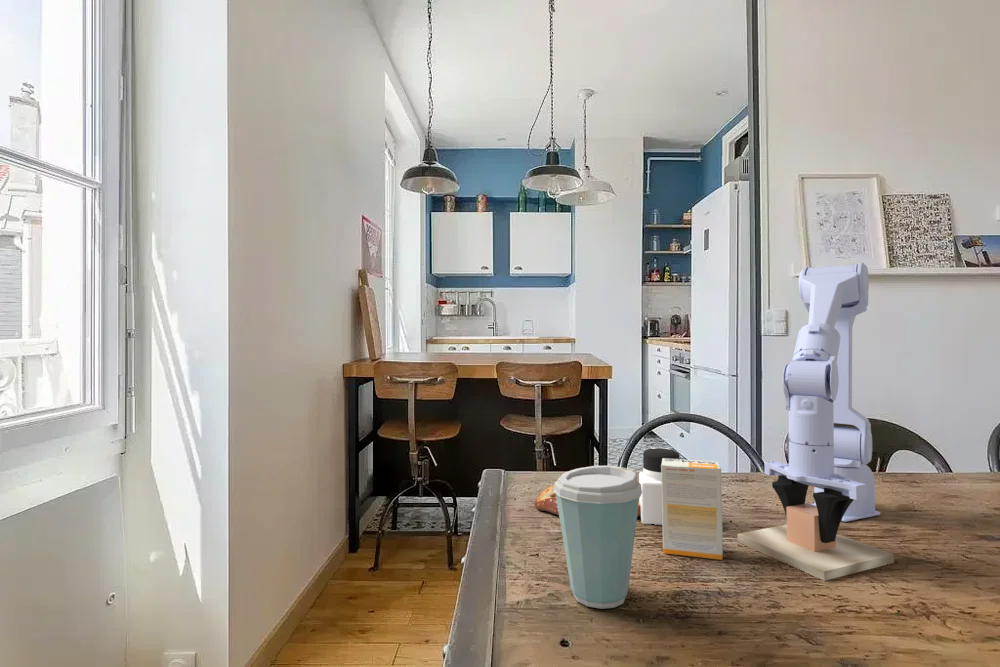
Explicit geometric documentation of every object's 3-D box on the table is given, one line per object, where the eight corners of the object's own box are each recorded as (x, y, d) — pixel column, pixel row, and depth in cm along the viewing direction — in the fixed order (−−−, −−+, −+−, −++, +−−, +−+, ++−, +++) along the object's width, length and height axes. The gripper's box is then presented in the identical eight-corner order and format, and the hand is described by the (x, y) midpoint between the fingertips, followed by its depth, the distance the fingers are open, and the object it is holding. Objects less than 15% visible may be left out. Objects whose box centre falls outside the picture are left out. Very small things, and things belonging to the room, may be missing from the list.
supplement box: (720, 548, 78) (719, 460, 78) (723, 561, 73) (722, 468, 73) (662, 541, 80) (662, 456, 80) (661, 554, 76) (660, 463, 76)
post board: (801, 528, 85) (801, 503, 85) (893, 562, 72) (893, 532, 72) (737, 541, 80) (737, 514, 80) (824, 580, 67) (824, 548, 67)
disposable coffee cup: (584, 627, 57) (583, 489, 57) (538, 584, 66) (537, 467, 67) (662, 607, 61) (661, 478, 61) (608, 569, 71) (607, 458, 71)
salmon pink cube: (807, 536, 79) (807, 503, 79) (835, 546, 75) (835, 512, 75) (786, 540, 77) (786, 506, 77) (814, 551, 73) (814, 516, 73)
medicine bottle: (686, 527, 86) (685, 454, 86) (641, 524, 88) (641, 453, 88) (680, 513, 93) (679, 446, 93) (639, 510, 95) (638, 444, 95)
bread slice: (665, 508, 94) (664, 487, 94) (597, 532, 83) (596, 509, 83) (591, 487, 108) (590, 469, 109) (525, 506, 98) (524, 486, 98)
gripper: (749, 435, 82) (750, 522, 82) (840, 454, 68) (841, 559, 68) (782, 432, 84) (783, 516, 84) (876, 450, 71) (877, 550, 71)
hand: (811, 535), depth 76 cm, fingers closed on salmon pink cube, 4 cm apart
